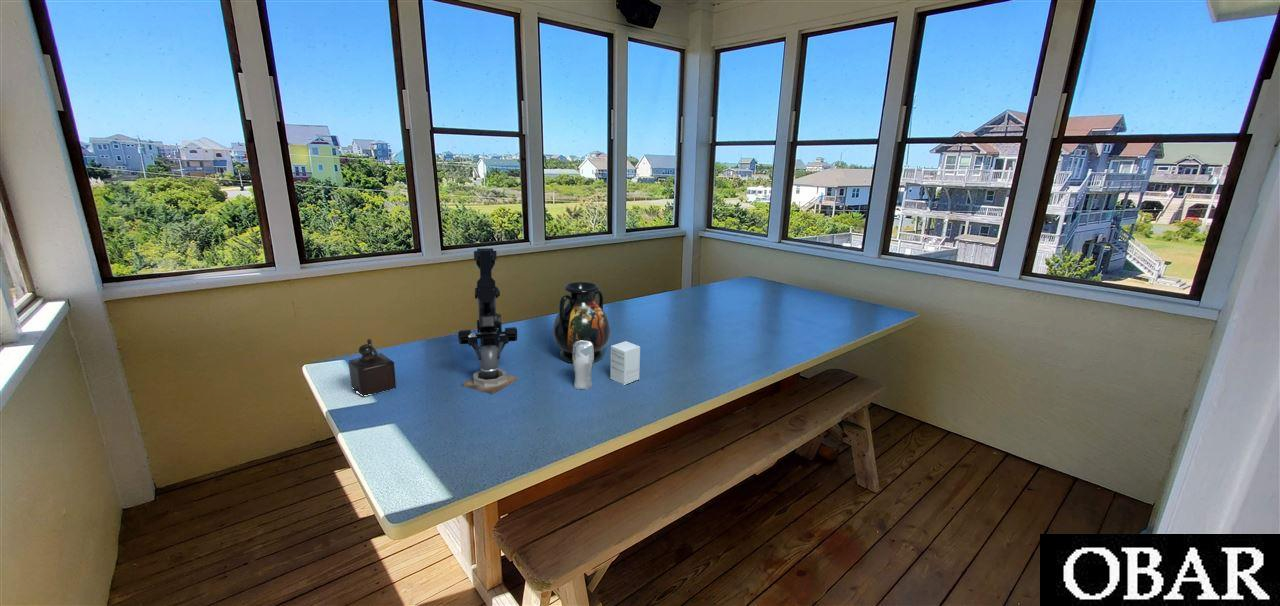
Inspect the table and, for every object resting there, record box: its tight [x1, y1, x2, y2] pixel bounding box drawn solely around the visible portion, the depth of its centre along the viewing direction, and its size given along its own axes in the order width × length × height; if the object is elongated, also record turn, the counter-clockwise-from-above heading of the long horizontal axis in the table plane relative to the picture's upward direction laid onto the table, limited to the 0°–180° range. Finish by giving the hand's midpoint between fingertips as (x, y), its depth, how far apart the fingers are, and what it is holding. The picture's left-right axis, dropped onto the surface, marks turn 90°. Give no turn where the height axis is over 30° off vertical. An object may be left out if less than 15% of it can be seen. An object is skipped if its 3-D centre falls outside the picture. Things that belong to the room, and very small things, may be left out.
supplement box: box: [609, 340, 641, 386], centre depth 175 cm, size 7×7×13 cm
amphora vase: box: [552, 281, 611, 364], centre depth 192 cm, size 22×22×28 cm
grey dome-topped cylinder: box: [479, 345, 500, 380], centre depth 169 cm, size 6×6×10 cm
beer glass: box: [572, 340, 594, 390], centre depth 169 cm, size 7×7×15 cm
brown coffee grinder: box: [348, 338, 397, 396], centre depth 160 cm, size 16×11×18 cm
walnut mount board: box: [462, 368, 518, 395], centre depth 170 cm, size 12×12×3 cm
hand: (489, 359), depth 167 cm, fingers closed on grey dome-topped cylinder, 6 cm apart
